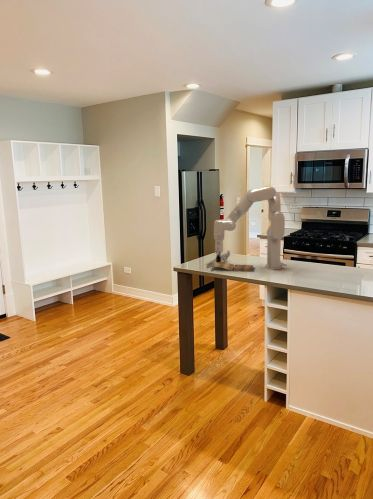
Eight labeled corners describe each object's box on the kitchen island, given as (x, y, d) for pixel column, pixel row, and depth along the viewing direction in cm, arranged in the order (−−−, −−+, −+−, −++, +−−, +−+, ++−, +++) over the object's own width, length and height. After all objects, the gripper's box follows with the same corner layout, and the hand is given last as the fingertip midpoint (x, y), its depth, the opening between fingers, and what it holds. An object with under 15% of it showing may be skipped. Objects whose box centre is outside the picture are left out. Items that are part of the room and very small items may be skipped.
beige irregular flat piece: (233, 266, 282) (234, 264, 281) (232, 270, 271) (232, 267, 271) (214, 261, 284) (214, 259, 284) (212, 265, 274) (212, 262, 273)
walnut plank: (253, 267, 279) (253, 265, 279) (252, 271, 269) (252, 268, 268) (235, 267, 282) (235, 264, 281) (234, 270, 271) (234, 268, 271)
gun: (230, 259, 306) (229, 250, 303) (208, 273, 285) (207, 263, 282) (228, 258, 307) (227, 250, 305) (206, 272, 286) (205, 263, 284)
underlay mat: (254, 268, 280) (254, 267, 280) (254, 272, 267) (254, 271, 267) (213, 266, 286) (213, 266, 286) (210, 271, 274) (210, 270, 274)
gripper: (223, 238, 266) (222, 264, 270) (225, 235, 281) (224, 260, 284) (212, 238, 268) (211, 263, 271) (215, 235, 282) (214, 259, 286)
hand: (218, 261), depth 278 cm, fingers closed
